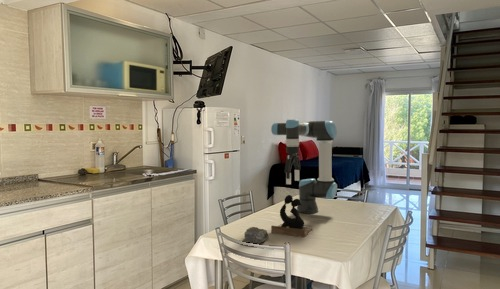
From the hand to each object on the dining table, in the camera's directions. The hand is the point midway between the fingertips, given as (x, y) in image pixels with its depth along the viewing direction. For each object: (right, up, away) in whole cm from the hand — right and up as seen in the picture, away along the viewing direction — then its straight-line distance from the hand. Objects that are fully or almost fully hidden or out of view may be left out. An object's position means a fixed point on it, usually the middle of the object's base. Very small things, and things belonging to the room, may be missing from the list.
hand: (293, 182), depth 215 cm
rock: (-22, -30, -14) cm, 40 cm away
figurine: (0, -28, +1) cm, 28 cm away
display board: (0, -29, +1) cm, 29 cm away
